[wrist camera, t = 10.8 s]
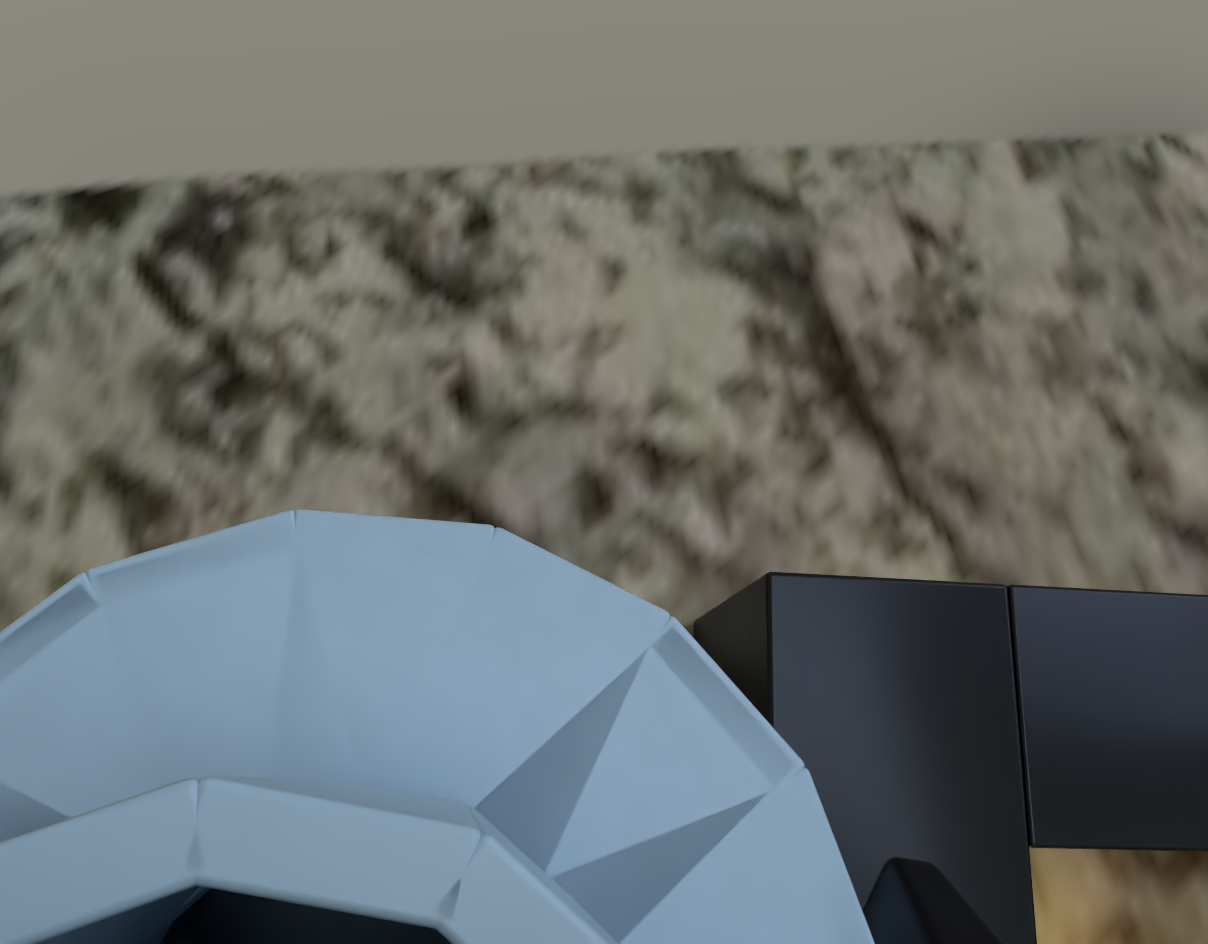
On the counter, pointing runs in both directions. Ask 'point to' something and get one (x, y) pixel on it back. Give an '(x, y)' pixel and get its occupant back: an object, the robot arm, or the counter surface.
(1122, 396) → the counter surface
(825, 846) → the vase
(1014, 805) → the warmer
